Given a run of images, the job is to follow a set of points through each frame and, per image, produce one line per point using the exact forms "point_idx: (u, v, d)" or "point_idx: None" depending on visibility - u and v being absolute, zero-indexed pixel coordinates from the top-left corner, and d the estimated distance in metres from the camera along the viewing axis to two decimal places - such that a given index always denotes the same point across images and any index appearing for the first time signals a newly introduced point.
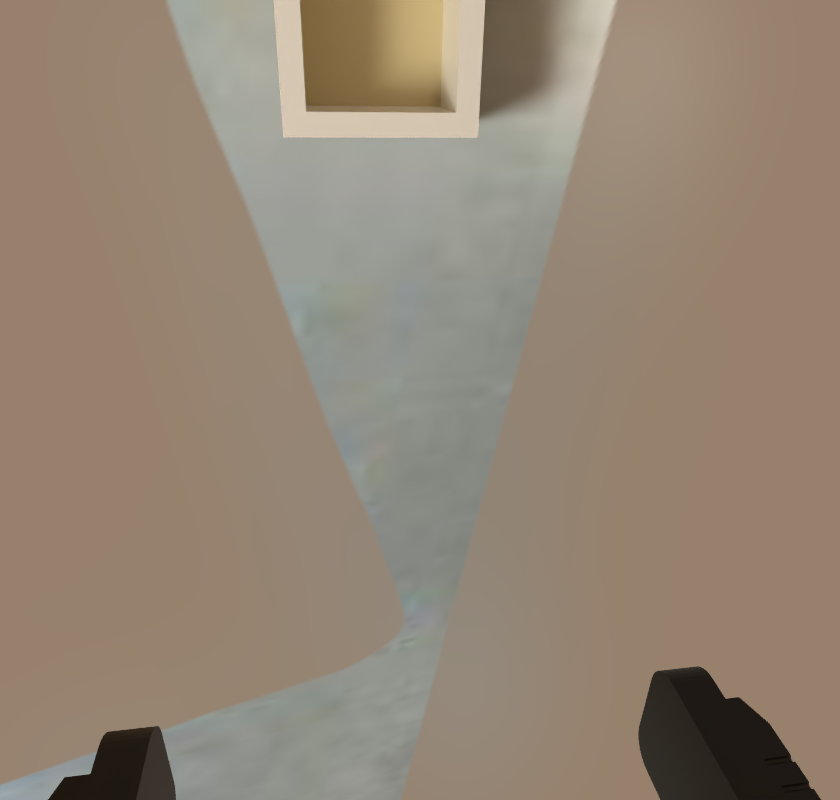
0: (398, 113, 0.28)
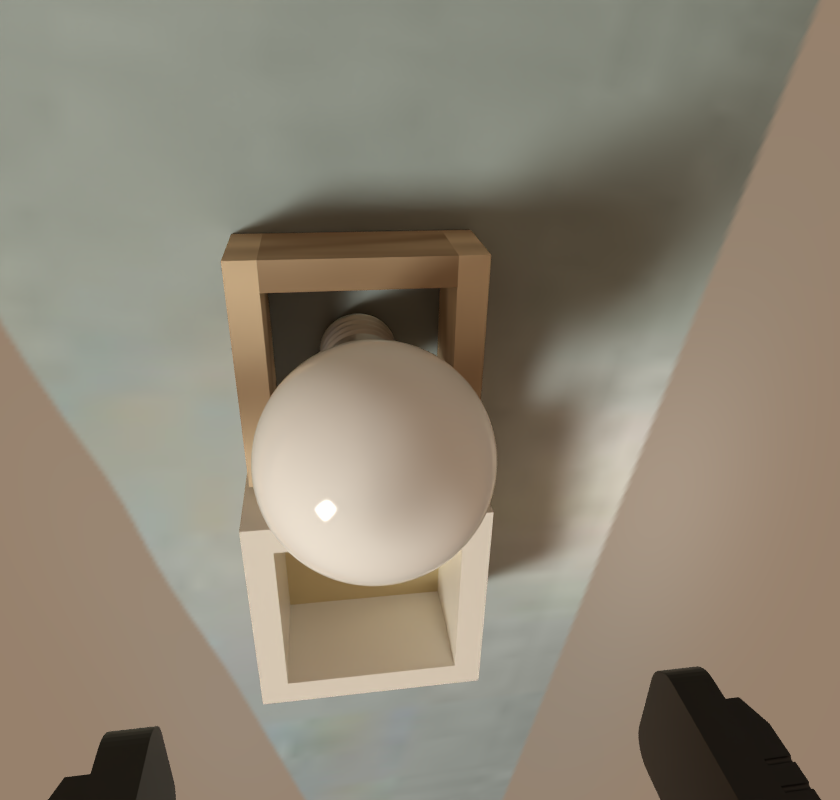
0: (390, 673, 0.26)
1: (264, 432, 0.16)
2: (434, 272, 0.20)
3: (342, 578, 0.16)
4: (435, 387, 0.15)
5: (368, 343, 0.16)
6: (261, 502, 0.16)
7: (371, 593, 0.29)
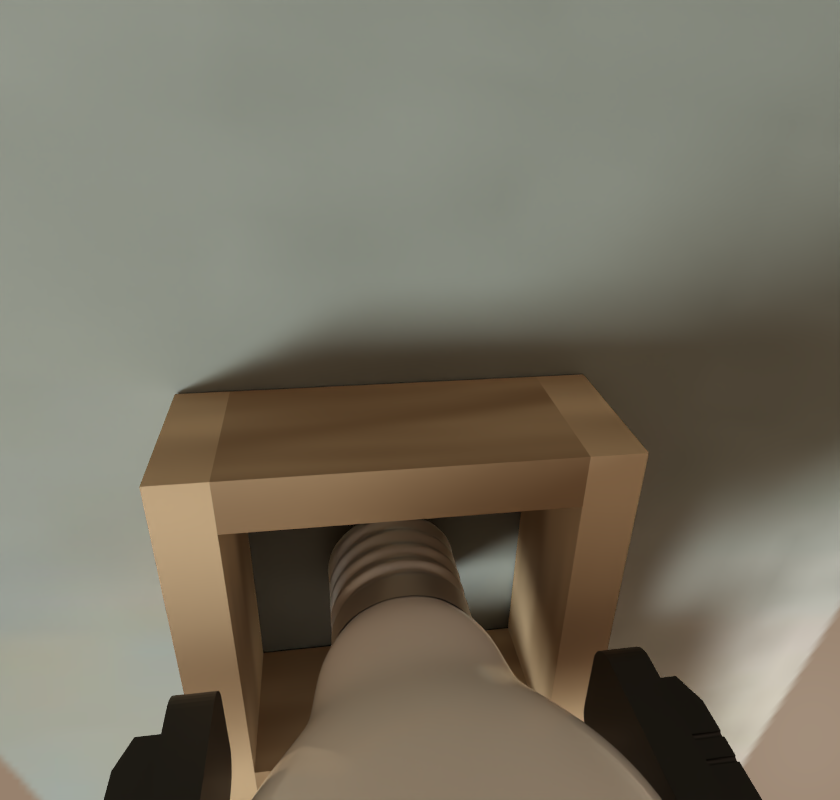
0: None
1: None
2: (543, 485, 0.11)
3: None
4: None
5: (453, 763, 0.07)
6: None
7: None
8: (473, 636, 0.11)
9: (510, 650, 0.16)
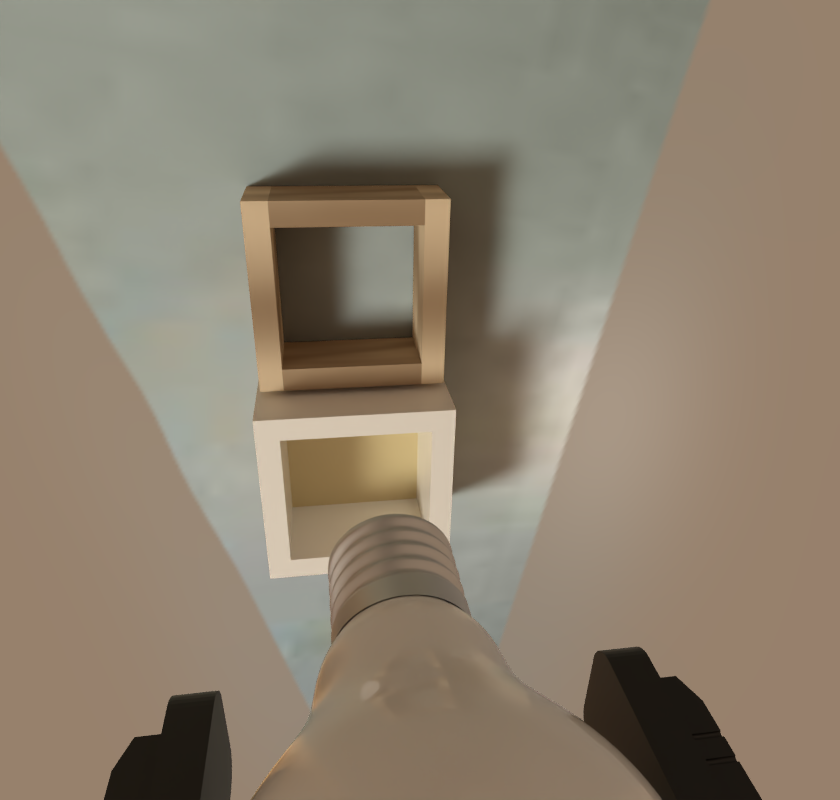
0: None
1: None
2: (406, 212, 0.26)
3: None
4: None
5: (453, 761, 0.07)
6: None
7: (360, 498, 0.34)
8: (473, 635, 0.11)
9: (411, 343, 0.31)
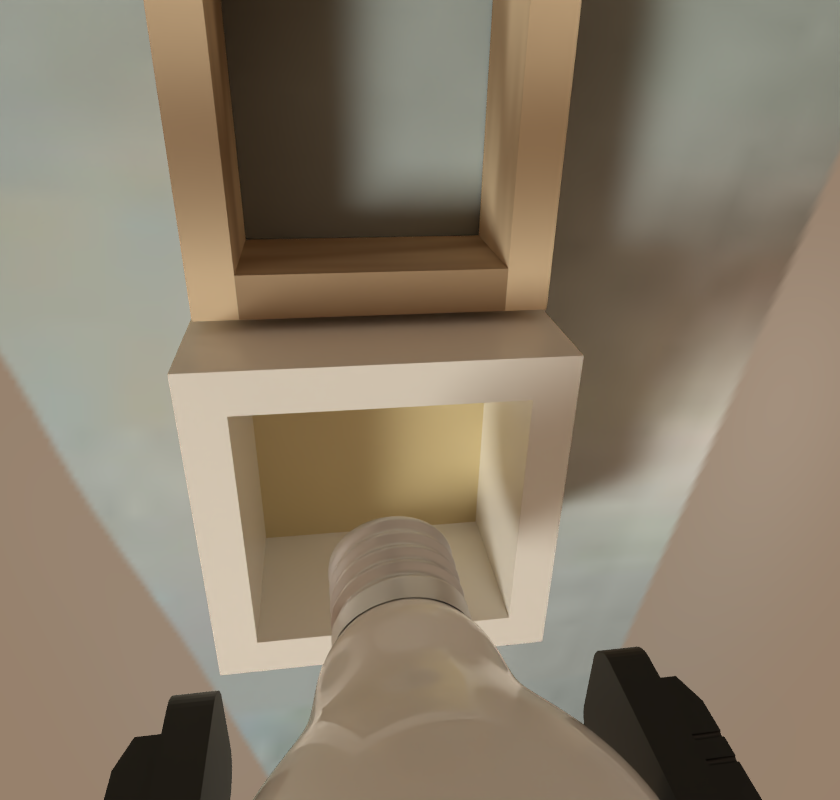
0: None
1: None
2: None
3: None
4: None
5: (453, 765, 0.07)
6: None
7: None
8: (473, 638, 0.11)
9: (480, 242, 0.17)
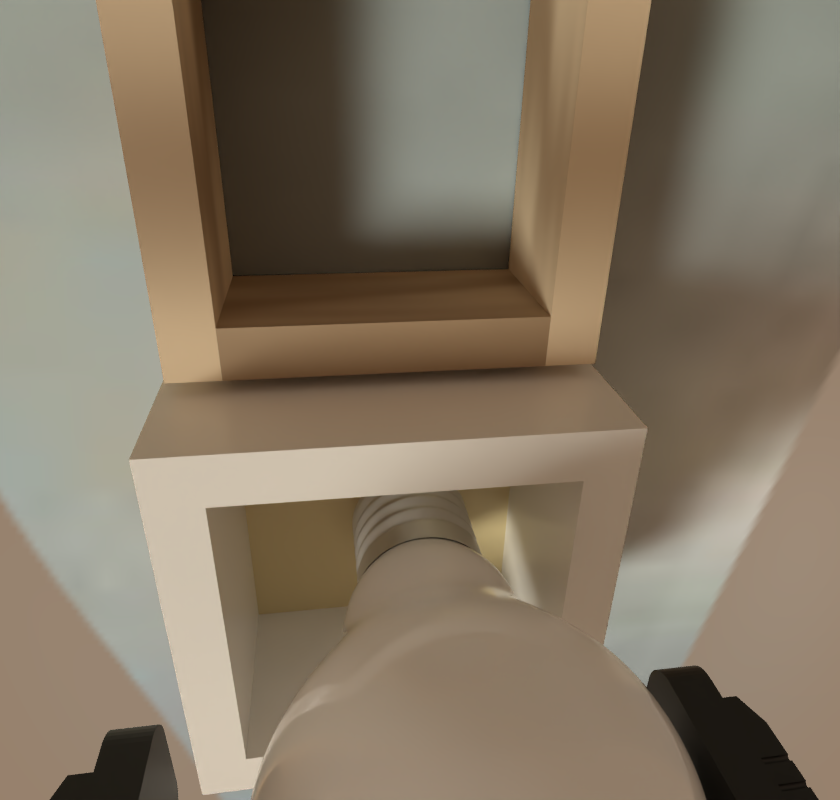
0: None
1: None
2: None
3: None
4: (628, 778, 0.07)
5: (474, 646, 0.08)
6: None
7: None
8: (487, 569, 0.12)
9: (511, 278, 0.14)
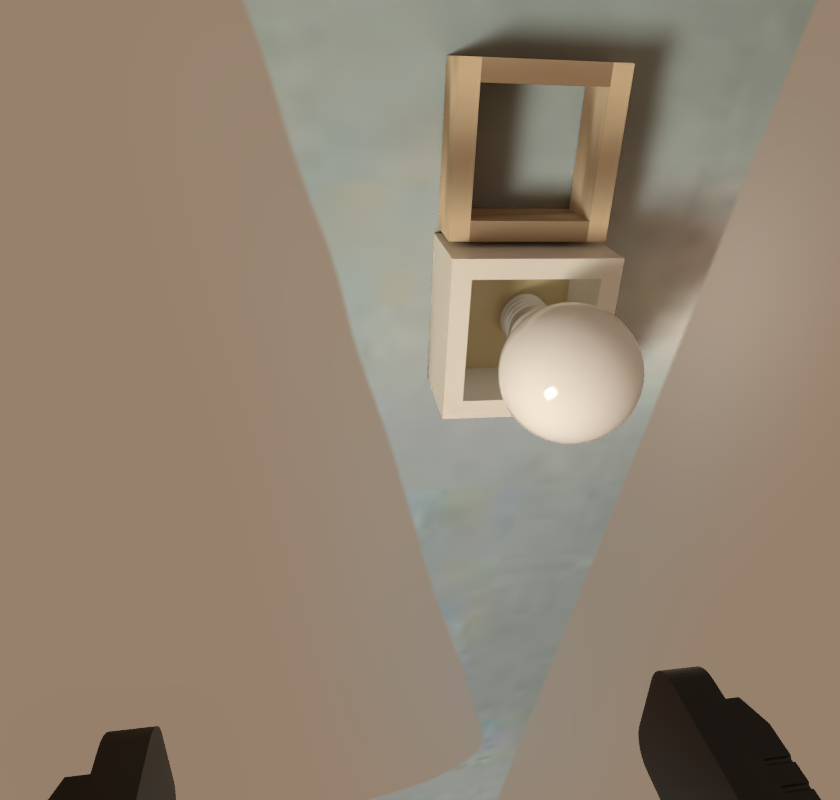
0: None
1: (519, 350, 0.28)
2: (596, 74, 0.30)
3: (561, 433, 0.28)
4: (617, 325, 0.28)
5: (573, 302, 0.29)
6: (516, 390, 0.28)
7: None
8: None
9: (571, 211, 0.35)
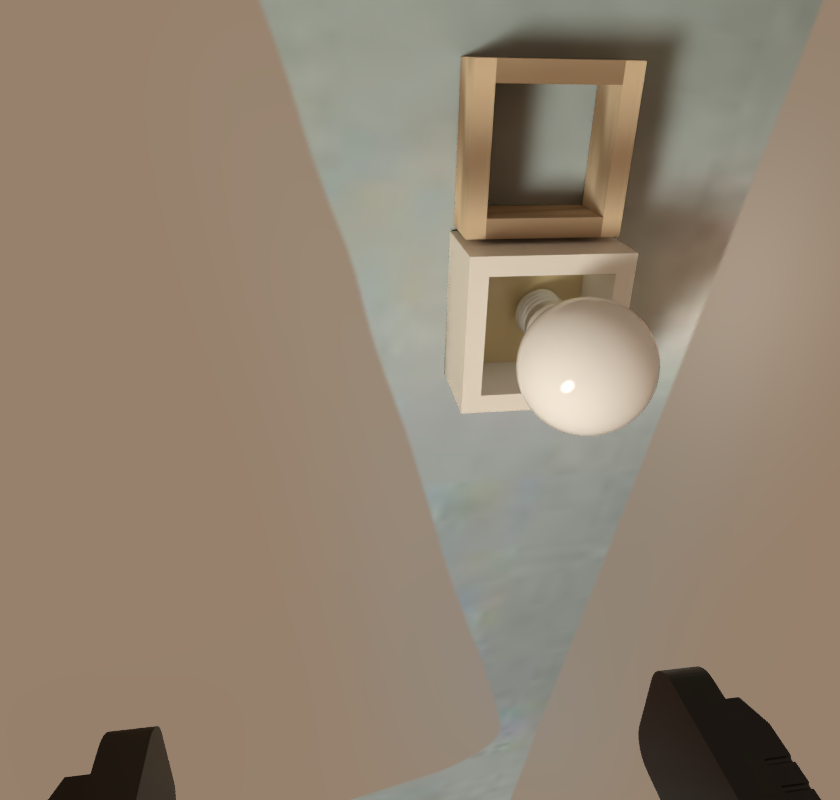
0: None
1: (537, 344, 0.29)
2: (609, 72, 0.30)
3: (579, 425, 0.29)
4: (633, 319, 0.29)
5: (589, 297, 0.30)
6: (534, 384, 0.29)
7: None
8: None
9: (584, 207, 0.35)
